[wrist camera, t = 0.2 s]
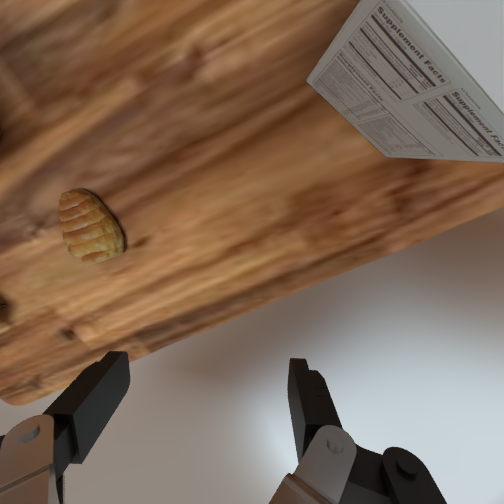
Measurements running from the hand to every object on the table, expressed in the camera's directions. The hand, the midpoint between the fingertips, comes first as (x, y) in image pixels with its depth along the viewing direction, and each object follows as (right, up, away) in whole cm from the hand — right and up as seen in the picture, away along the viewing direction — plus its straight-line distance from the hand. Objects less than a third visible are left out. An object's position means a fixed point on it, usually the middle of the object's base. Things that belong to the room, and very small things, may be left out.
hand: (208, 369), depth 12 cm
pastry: (-19, +9, +21) cm, 30 cm away
